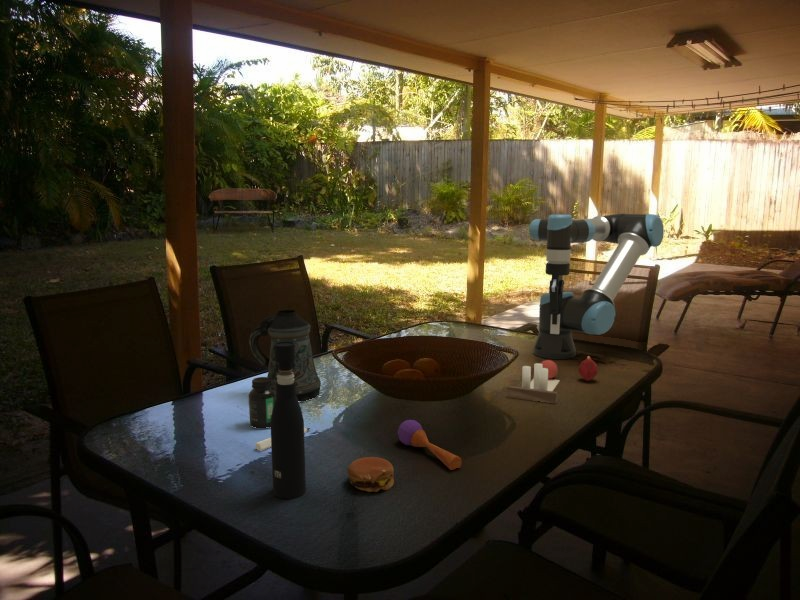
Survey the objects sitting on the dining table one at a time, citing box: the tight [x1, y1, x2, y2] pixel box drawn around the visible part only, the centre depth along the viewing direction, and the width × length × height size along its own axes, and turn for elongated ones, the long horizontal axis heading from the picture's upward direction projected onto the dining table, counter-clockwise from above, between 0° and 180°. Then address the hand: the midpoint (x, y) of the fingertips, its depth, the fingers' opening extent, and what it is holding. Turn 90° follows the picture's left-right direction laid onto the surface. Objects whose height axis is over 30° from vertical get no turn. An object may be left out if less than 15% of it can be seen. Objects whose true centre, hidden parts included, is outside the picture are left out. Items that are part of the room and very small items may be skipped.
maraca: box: [397, 419, 463, 471], centre depth 137 cm, size 6×6×20 cm
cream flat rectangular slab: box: [530, 377, 560, 392], centre depth 188 cm, size 13×8×1 cm, turn 155°
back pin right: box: [521, 365, 532, 388], centre depth 177 cm, size 2×2×8 cm
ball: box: [540, 359, 559, 379], centre depth 194 cm, size 6×6×6 cm
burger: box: [346, 456, 395, 493], centre depth 123 cm, size 10×9×5 cm
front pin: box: [533, 362, 543, 390], centre depth 180 cm, size 2×2×8 cm
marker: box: [254, 427, 311, 452], centre depth 145 cm, size 3×2×16 cm
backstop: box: [506, 385, 558, 405], centre depth 174 cm, size 2×14×3 cm, turn 65°
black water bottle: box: [270, 342, 307, 500], centre depth 118 cm, size 6×6×30 cm
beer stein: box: [248, 309, 322, 402], centre depth 176 cm, size 16×19×25 cm
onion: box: [578, 355, 599, 382], centre depth 191 cm, size 6×6×8 cm
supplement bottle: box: [248, 376, 276, 428], centre depth 154 cm, size 7×7×12 cm
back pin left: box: [539, 368, 548, 391], centre depth 175 cm, size 2×2×8 cm
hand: (554, 333), depth 201 cm, fingers closed
